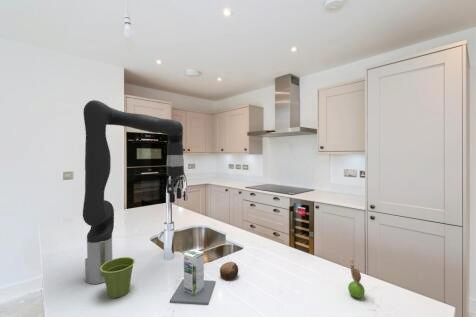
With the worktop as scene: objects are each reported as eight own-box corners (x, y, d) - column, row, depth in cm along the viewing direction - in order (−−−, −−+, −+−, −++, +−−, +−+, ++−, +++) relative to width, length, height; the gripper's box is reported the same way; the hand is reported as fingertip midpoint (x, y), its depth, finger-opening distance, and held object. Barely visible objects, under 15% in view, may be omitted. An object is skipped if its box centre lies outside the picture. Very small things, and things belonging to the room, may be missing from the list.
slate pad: (169, 302, 82) (169, 300, 82) (182, 281, 96) (182, 279, 96) (208, 305, 81) (208, 302, 81) (215, 282, 95) (215, 280, 95)
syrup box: (183, 291, 88) (182, 253, 88) (193, 283, 93) (193, 248, 93) (194, 295, 85) (194, 257, 85) (204, 287, 90) (204, 251, 90)
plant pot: (110, 284, 94) (109, 257, 94) (139, 283, 95) (139, 256, 95) (94, 303, 82) (93, 272, 82) (128, 302, 83) (127, 271, 83)
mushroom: (230, 262, 106) (228, 255, 102) (242, 273, 102) (241, 266, 98) (217, 275, 102) (215, 268, 98) (229, 288, 97) (228, 281, 94)
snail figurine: (357, 290, 89) (358, 259, 89) (367, 301, 83) (368, 268, 83) (344, 290, 89) (344, 260, 89) (353, 301, 83) (353, 268, 83)
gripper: (173, 164, 112) (173, 197, 113) (160, 166, 98) (161, 203, 98) (188, 164, 112) (188, 197, 112) (177, 166, 97) (178, 204, 98)
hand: (175, 200), depth 105 cm, fingers open, 8 cm apart
